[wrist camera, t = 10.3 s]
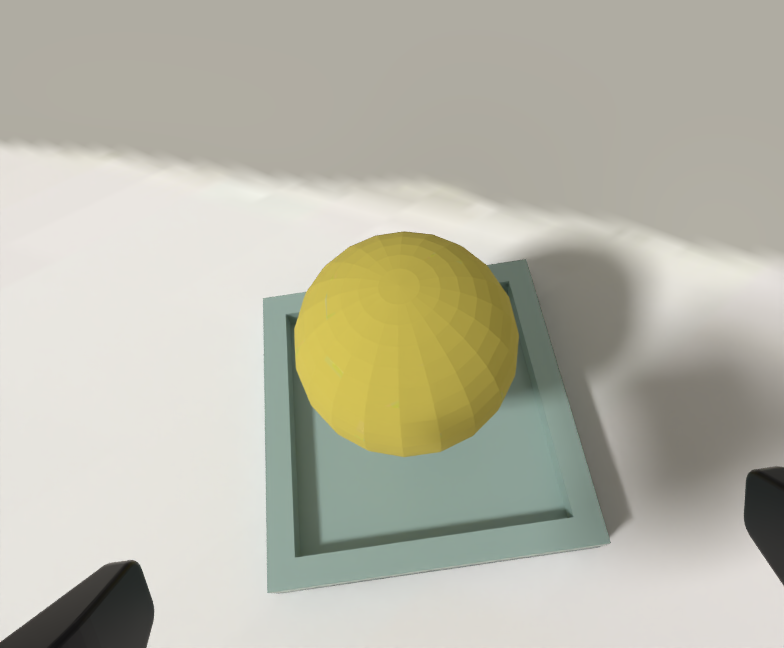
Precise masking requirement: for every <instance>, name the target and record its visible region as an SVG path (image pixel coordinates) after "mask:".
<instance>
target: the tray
mask: <svg viewBox="0 0 784 648" xmlns="http://www.w3.org/2000/svg"><path fill="white" fill-rule="evenodd" d="M487 266H488V267H489V269H490V270H491V272H492V273H493V275H494V276H495V277H496V279H497V280H498V282H499V283H500V285H501V286H502V288H503V289H504V291H505V292H506V293H507V295H508V296H509V299H510V303H511V306H512V310H513V314H514V318H515V321H516V325H517V329H518V333H519V342H518V353H517V364H516V373H515V377H514V379H513V381H512V383H511V385H510V387H509V390H508V392H507V394H506V396H505V398H504V400H503V402H502V404H501V406H500V408H499V410H498V411H497V412H496V413H495V414H494V415H493V416H492V417H491V418H490V419H489V420H488V421H487V422H486V423H485V424H484V425H483V426H482V427H481V428H480V429H479V430H478V431H477V432H476V433H475V434H474V435H473V436H472V437H470V438H468V439H466V440H464V441H462V442H460V443H458V444H456V445H454V446H452V447H450V448H448V449H446V450H444V451H442V452H437V453H430V454H424V455H417V456H410V457H400V456H394V455H388V454H383V453H377V452H371V451H368V450H366V449H364V448H362V447H360V446H358V445H357V444H355V443H353V442H351V441H349V440H347V439H345V438H344V437H342V436H340V435H338V434H337V433H336V432H335V431H334V430H333V429H332V428H331V426H330V425H329V424H328V423H327V422H326V421H325V420H324V419H323V418H322V417H321V416H320V414H319V413H318V412H317V411H316V410H315V409H314V408H313V407H312V406H311V404H310V401H309V399H308V397H307V394H306V392H305V389H304V387H303V385H302V382H301V380H300V378H299V375H298V372H297V370H296V360H295V338H294V329H295V325H296V322H297V319H298V315H299V312H300V309H301V306H302V302H303V299H304V296H305V294H306V292H303V293H296V294H289V295H282V296H276V297H269V298H263V323H264V390H265V457H266V524H267V591H268V593H276V594H280V593H287V592H294V591H301V590H308V589H315V588H321V587H328V586H335V585H342V584H349V583H356V582H363V581H370V580H377V579H384V578H390V577H397V576H404V575H411V574H418V573H425V572H432V571H439V570H446V569H453V568H459V567H466V566H473V565H480V564H487V563H494V562H501V561H508V560H515V559H522V558H528V557H535V556H542V555H549V554H556V553H563V552H570V551H577V550H584V549H591V548H598V547H601V546H604V545H607V544H610V543H611V542H610V539H609V535H608V532H607V529H606V525H605V522H604V519H603V515H602V512H601V509H600V505H599V502H598V499H597V495H596V492H595V489H594V485H593V482H592V479H591V475H590V472H589V469H588V465H587V462H586V459H585V455H584V452H583V448H582V445H581V442H580V438H579V435H578V432H577V428H576V425H575V422H574V418H573V415H572V412H571V408H570V405H569V402H568V398H567V395H566V392H565V388H564V385H563V382H562V378H561V375H560V372H559V368H558V365H557V362H556V358H555V355H554V352H553V348H552V345H551V341H550V338H549V335H548V331H547V328H546V325H545V321H544V318H543V315H542V311H541V308H540V305H539V301H538V298H537V295H536V291H535V288H534V285H533V281H532V278H531V275H530V271H529V268H528V265H527V261H526V259H525V260H518V261H511V262H505V263H498V264H491V265H487Z"/></svg>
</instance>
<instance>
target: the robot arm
mask: <svg viewBox="0 0 784 648" xmlns="http://www.w3.org/2000/svg"><path fill="white" fill-rule="evenodd" d="M744 522H745V526H746V529H747V531H748V533H749V535H750V537H751V538H752V540H753V541H754V543H755V544H756V546H757V547H758V549H759V550H760V552H761V553H762V554H763V556H764V557H765V559H766V560H767V562H768V563H769V565H770V566H771V568H772V569H773V571H774V572H775V574H776V575H777V577H778V578H779V579H780V581H781V582H782V584H783V585H784V467H779V466H775V467H768V468H761V469H754V470H752V471H751V472H749V473H748V475H747V478H746V489H745V506H744ZM153 620H154V605H153V601H152V598H151V595H150V592H149V589H148V586H147V583H146V580H145V577H144V574H143V571H142V569H141V566H140V565H139V563H138V562H136V561H134V560H128V561H121V562H114V563H109V564H106V565H104V566H103V567H101V568H100V569H99V570H97V571H96V572H95V573H93V574H92V575H91V576H89V577H88V578H86V579H85V580H84V581H82V582H81V583H80V584H78V585H77V586H76V587H74V588H73V589H72V590H70V591H69V592H68V593H66V594H65V595H63V596H62V597H61V598H59V599H58V600H57V601H55V602H54V603H53V604H51V605H50V606H49V607H47V608H46V609H45V610H43V611H42V612H40V613H39V614H38V615H36V616H35V617H34V618H32V619H31V620H30V621H28V622H27V623H26V624H24V625H23V626H22V627H20V628H19V629H17V630H16V631H15V632H13V633H12V634H11V635H9V636H8V637H7V638H5V639H4V640H3V641H1V642H0V648H146V647H147V643H148V640H149V636H150V632H151V628H152V624H153Z"/></svg>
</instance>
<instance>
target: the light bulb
mask: <svg viewBox="0 0 784 648" xmlns="http://www.w3.org/2000/svg"><path fill="white" fill-rule="evenodd" d="M294 338H295V360H296V370H297V372H298V375H299V378H300V380H301V382H302V385H303V387H304V389H305V392H306V394H307V397H308V399H309V401H310V404H311V406H312V407H313V408H314V409H315V410H316V411H317V412H318V413H319V414H320V416H321V417H322V418H323V419H324V420H325V421H326V422H327V423H328V424H329V425H330V426H331V428H332V429H333V430H334V431H335V432H336V433H337V434H338V435H340V436H342V437H344V438H345V439H347V440H349V441H351V442H353V443H355V444H357V445H358V446H360V447H362V448H364V449H366V450H368V451H371V452H377V453H383V454H388V455H394V456H400V457H410V456H417V455H424V454H430V453H437V452H442V451H444V450H446V449H448V448H450V447H452V446H454V445H456V444H458V443H460V442H462V441H464V440H466V439H468V438H470V437H472V436H473V435H474V434H475V433H476V432H477V431H478V430H479V429H480V428H481V427H482V426H483V425H484V424H485V423H486V422H487V421H488V420H489V419H490V418H491V417H492V416H493V415H494V414H495V413H496V412H497V411H498V410H499V408H500V406H501V404H502V402H503V400H504V398H505V396H506V394H507V392H508V390H509V387H510V385H511V383H512V381H513V379H514V377H515V373H516V364H517V353H518V342H519V333H518V329H517V325H516V321H515V318H514V314H513V310H512V306H511V303H510V299H509V296H508V295H507V293H506V292H505V291H504V289H503V288H502V286H501V285H500V283H499V282H498V280H497V279H496V277H495V276H494V275H493V273H492V272H491V270H490V269H489V267H488V266H487V265H486V264H484V263H483V262H482V261H481V260H479V259H478V258H477V257H475V256H474V255H473V254H471V253H470V252H469V251H468V250H466V249H465V248H464V247H462V246H460V245H458V244H456V243H453V242H450V241H448V240H445V239H443V238H440V237H438V236H435V235H432V234H423V233H413V232H397V233H391V234H384V235H377V236H374V237H371V238H369V239H367V240H364V241H362V242H360V243H357V244H355V245H353V246H350V247H348V248H347V249H346V250H345V251H343V252H342V253H341V254H340V255H338V256H337V257H336V258H335V259H333V260H332V261H331V262H330V263H328V264H327V265H326V266H325V267H324V268H323V269H322V271H321V272H320V273H319V275H318V276H317V278H316V279H315V281H314V282H313V283H312V285H311V286H310V288H309V289H308V291H307V292H306V294H305V296H304V299H303V302H302V306H301V309H300V312H299V315H298V319H297V322H296V325H295V329H294Z"/></svg>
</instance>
